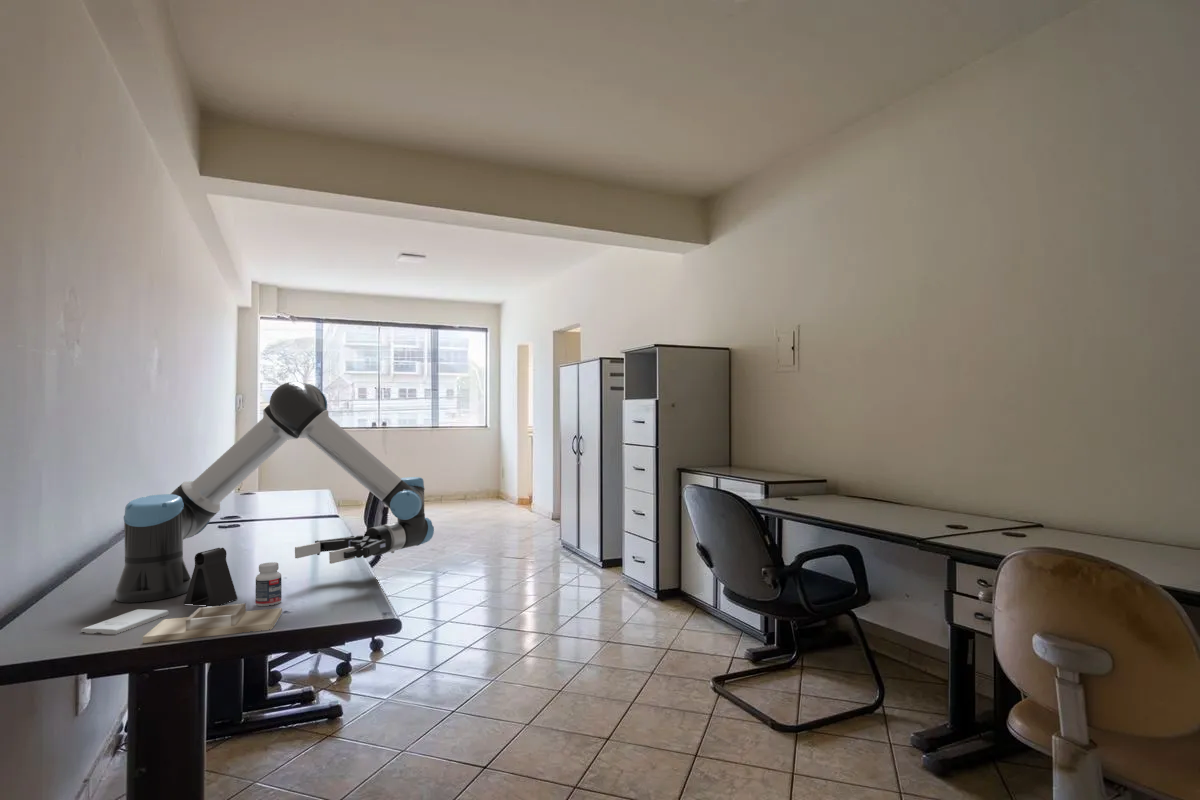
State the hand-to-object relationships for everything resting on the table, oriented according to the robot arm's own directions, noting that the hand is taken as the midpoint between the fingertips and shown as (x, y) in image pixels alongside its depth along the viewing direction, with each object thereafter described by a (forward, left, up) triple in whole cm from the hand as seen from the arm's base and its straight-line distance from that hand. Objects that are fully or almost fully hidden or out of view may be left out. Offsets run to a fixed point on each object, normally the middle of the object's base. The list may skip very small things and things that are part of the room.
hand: (312, 555), depth 155 cm
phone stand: (-13, -17, -9) cm, 23 cm away
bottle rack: (+7, -26, -9) cm, 28 cm away
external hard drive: (-13, -34, -10) cm, 37 cm away
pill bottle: (0, -11, -9) cm, 14 cm away
